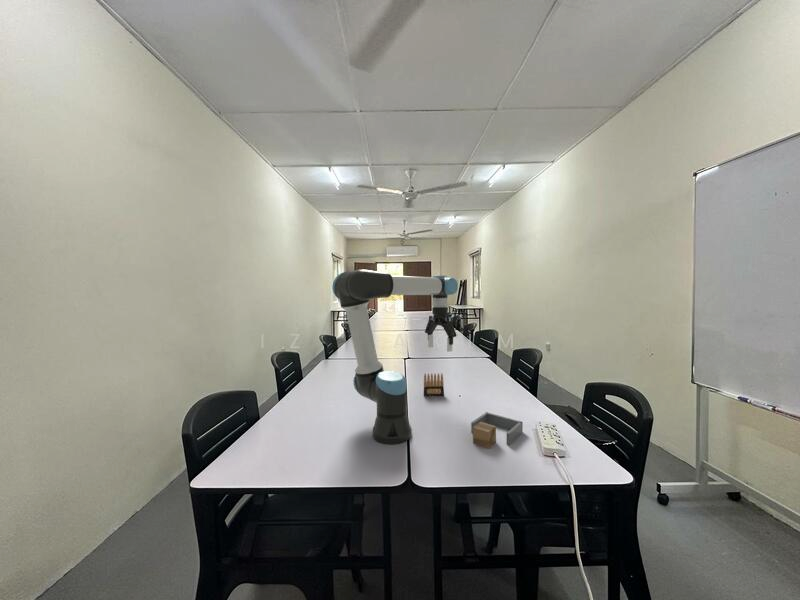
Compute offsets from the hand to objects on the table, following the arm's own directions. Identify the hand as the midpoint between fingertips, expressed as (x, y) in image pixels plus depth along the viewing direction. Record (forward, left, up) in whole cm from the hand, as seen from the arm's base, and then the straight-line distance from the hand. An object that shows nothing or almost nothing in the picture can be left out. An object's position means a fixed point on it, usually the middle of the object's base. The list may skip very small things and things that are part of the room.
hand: (439, 349), depth 152 cm
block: (-25, -36, -26) cm, 51 cm away
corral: (-14, -36, -26) cm, 46 cm away
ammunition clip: (+4, +7, -26) cm, 28 cm away
